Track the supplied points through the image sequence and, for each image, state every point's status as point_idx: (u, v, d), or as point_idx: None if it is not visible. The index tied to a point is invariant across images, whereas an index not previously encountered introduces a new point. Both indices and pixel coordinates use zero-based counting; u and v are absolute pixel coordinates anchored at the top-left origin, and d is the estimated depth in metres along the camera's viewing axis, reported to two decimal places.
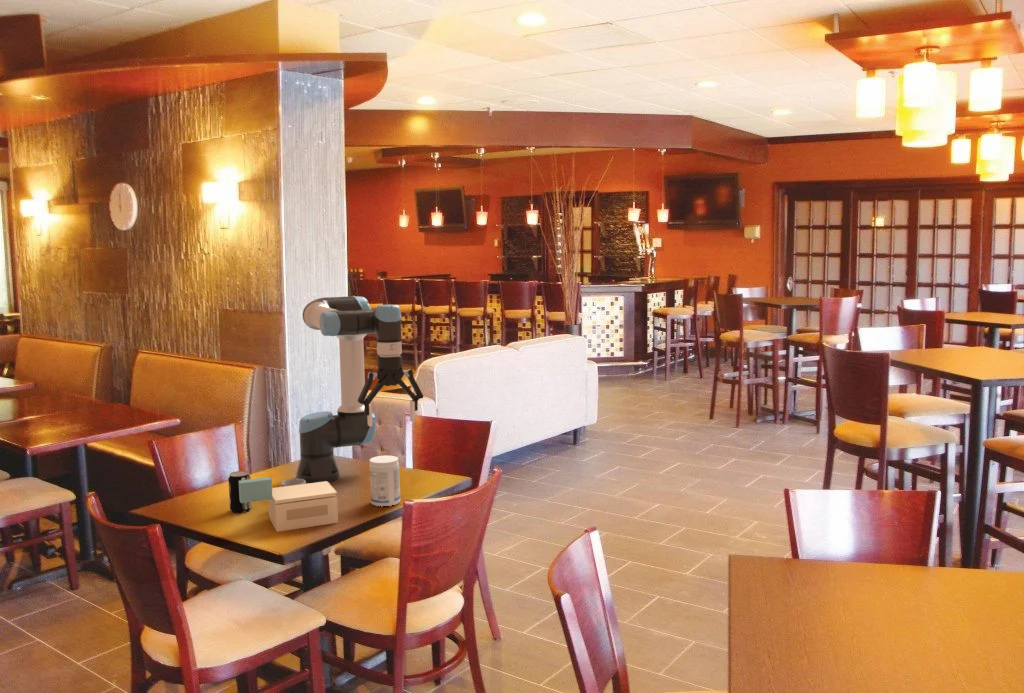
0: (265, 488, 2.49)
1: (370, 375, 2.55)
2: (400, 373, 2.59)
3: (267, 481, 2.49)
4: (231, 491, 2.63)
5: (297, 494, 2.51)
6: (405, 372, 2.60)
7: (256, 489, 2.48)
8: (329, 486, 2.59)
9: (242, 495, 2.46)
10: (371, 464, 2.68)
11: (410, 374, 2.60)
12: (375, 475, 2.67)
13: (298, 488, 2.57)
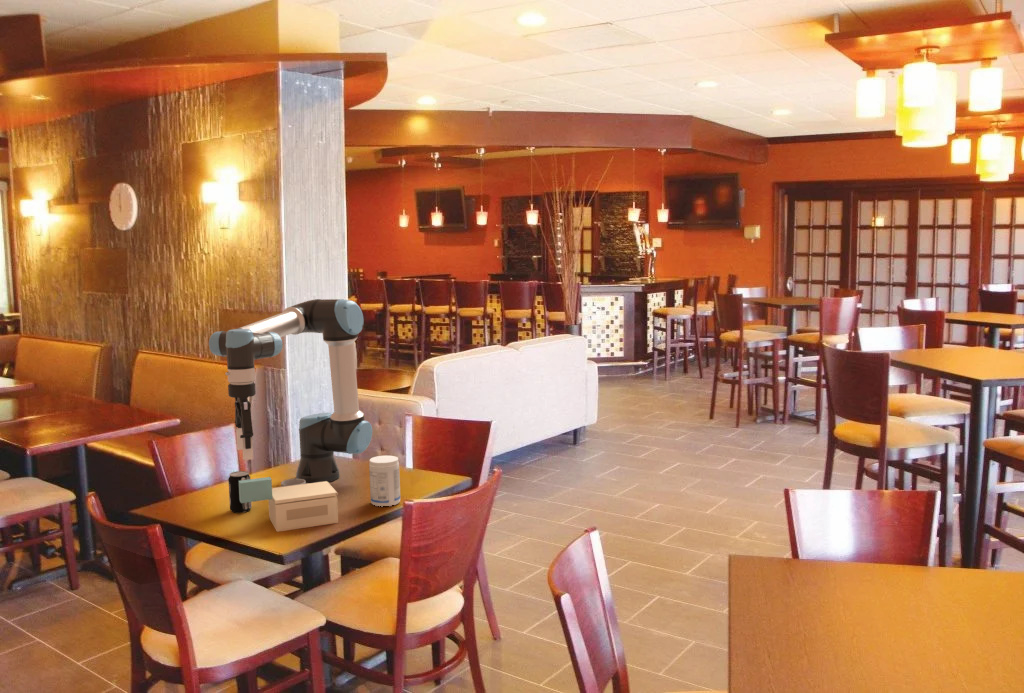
0: (265, 488, 2.49)
1: (235, 398, 2.50)
2: (239, 403, 2.42)
3: (267, 481, 2.49)
4: (231, 491, 2.63)
5: (297, 494, 2.51)
6: None
7: (256, 489, 2.48)
8: (329, 486, 2.59)
9: (242, 495, 2.46)
10: (371, 464, 2.68)
11: (241, 407, 2.39)
12: (375, 475, 2.67)
13: (298, 488, 2.57)
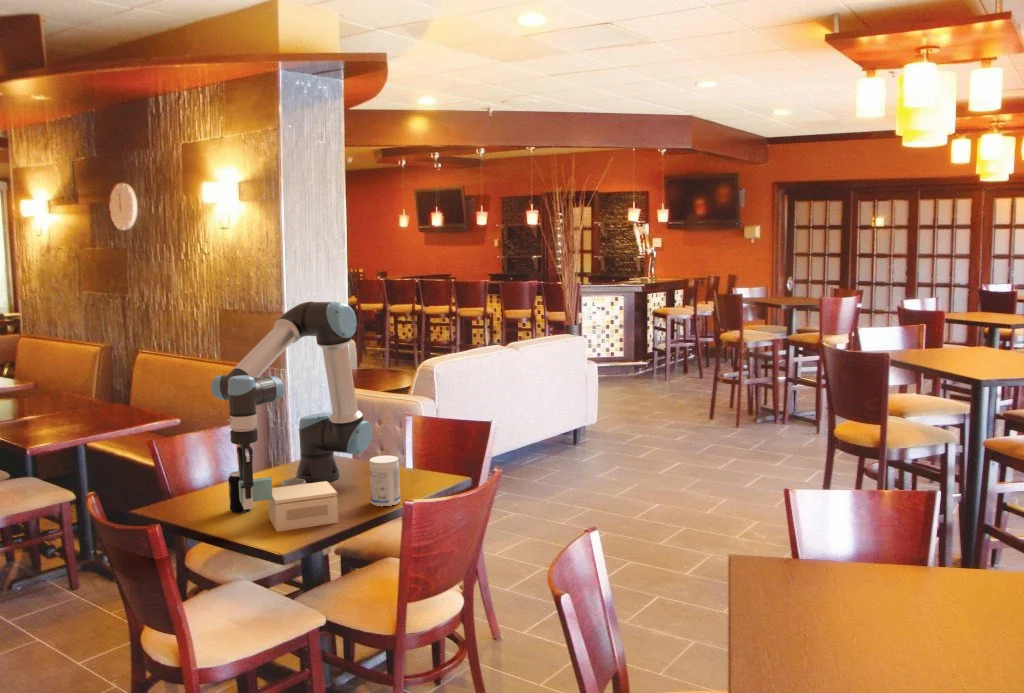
0: (265, 488, 2.49)
1: None
2: (242, 450, 2.43)
3: (267, 481, 2.49)
4: (231, 491, 2.63)
5: (297, 494, 2.51)
6: (245, 454, 2.42)
7: (256, 489, 2.48)
8: (329, 486, 2.59)
9: (242, 495, 2.46)
10: (371, 464, 2.68)
11: (243, 459, 2.41)
12: (375, 475, 2.67)
13: (298, 488, 2.57)
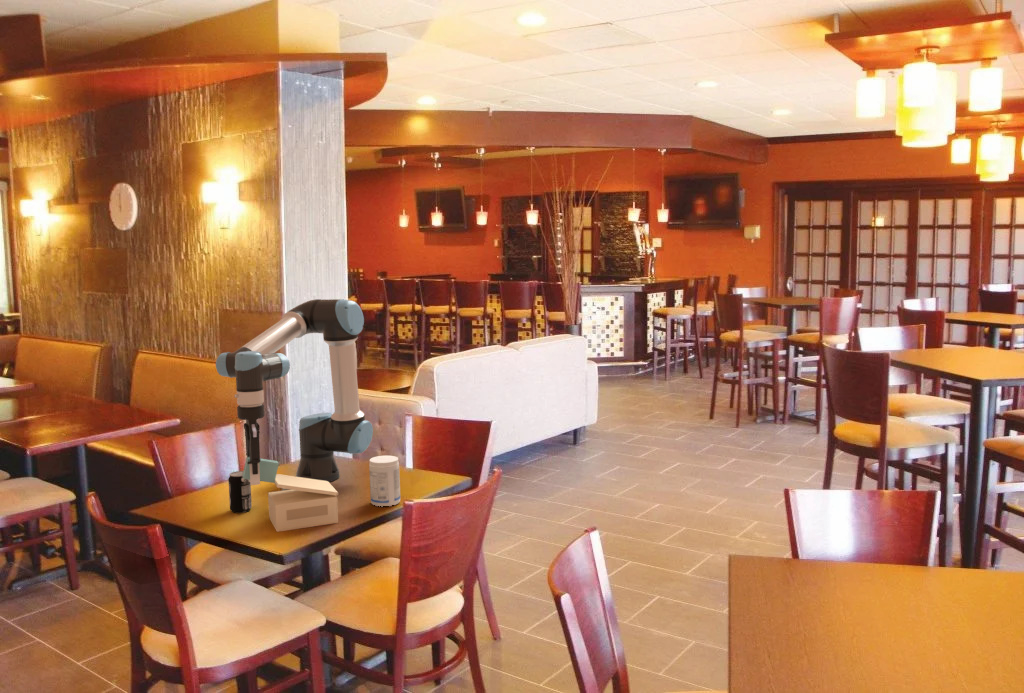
0: (270, 470, 2.49)
1: None
2: (248, 425, 2.43)
3: (274, 464, 2.49)
4: (231, 491, 2.63)
5: (299, 484, 2.51)
6: (252, 429, 2.42)
7: (262, 469, 2.48)
8: (330, 486, 2.59)
9: (247, 471, 2.46)
10: (371, 464, 2.68)
11: (250, 434, 2.41)
12: (375, 475, 2.67)
13: (300, 480, 2.57)
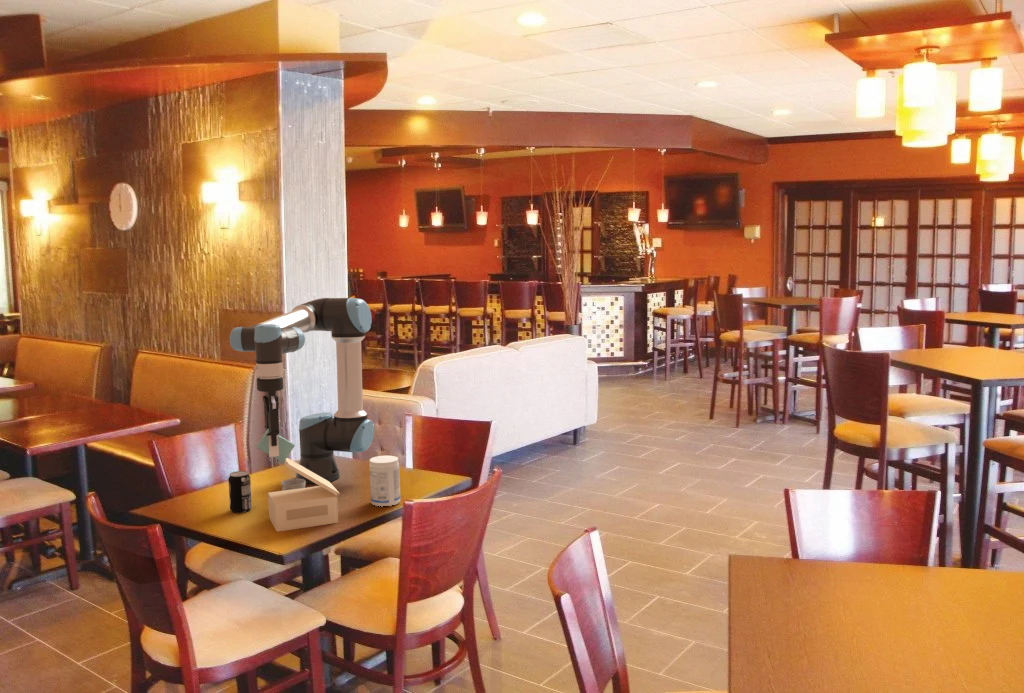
0: (284, 449, 2.50)
1: None
2: (268, 397, 2.45)
3: (290, 444, 2.51)
4: (231, 491, 2.63)
5: (306, 472, 2.51)
6: (271, 401, 2.44)
7: None
8: (332, 485, 2.59)
9: (263, 442, 2.47)
10: (371, 464, 2.68)
11: (269, 406, 2.43)
12: (375, 475, 2.67)
13: (306, 470, 2.58)
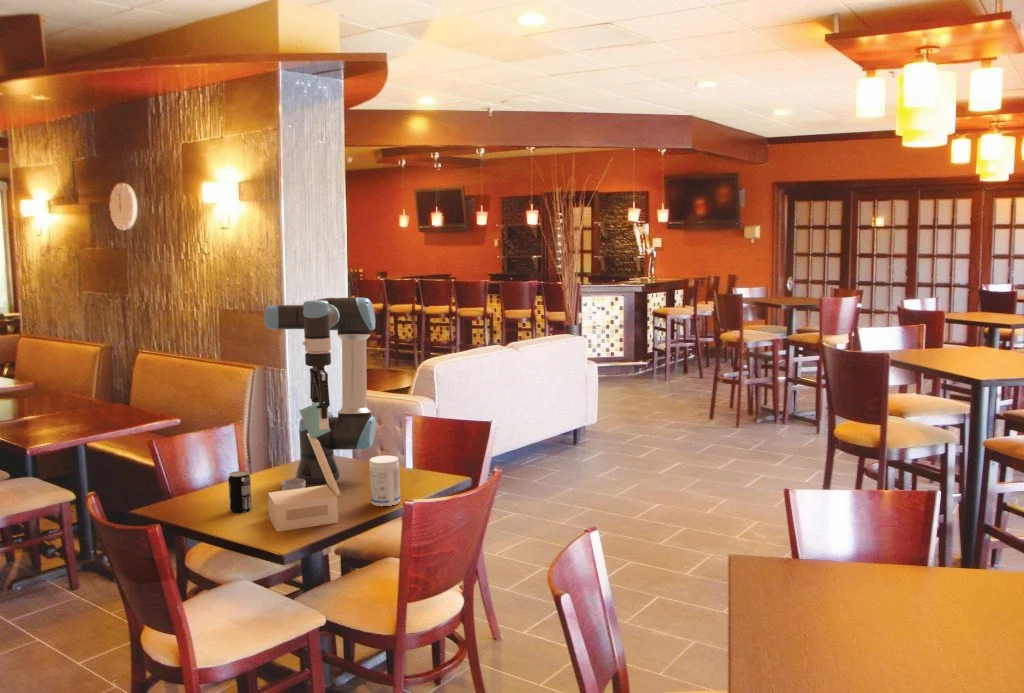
0: None
1: (310, 370, 2.59)
2: (317, 372, 2.50)
3: None
4: (231, 491, 2.63)
5: None
6: (320, 374, 2.49)
7: (317, 421, 2.53)
8: None
9: (309, 410, 2.52)
10: (371, 464, 2.68)
11: (318, 378, 2.48)
12: (375, 475, 2.67)
13: None
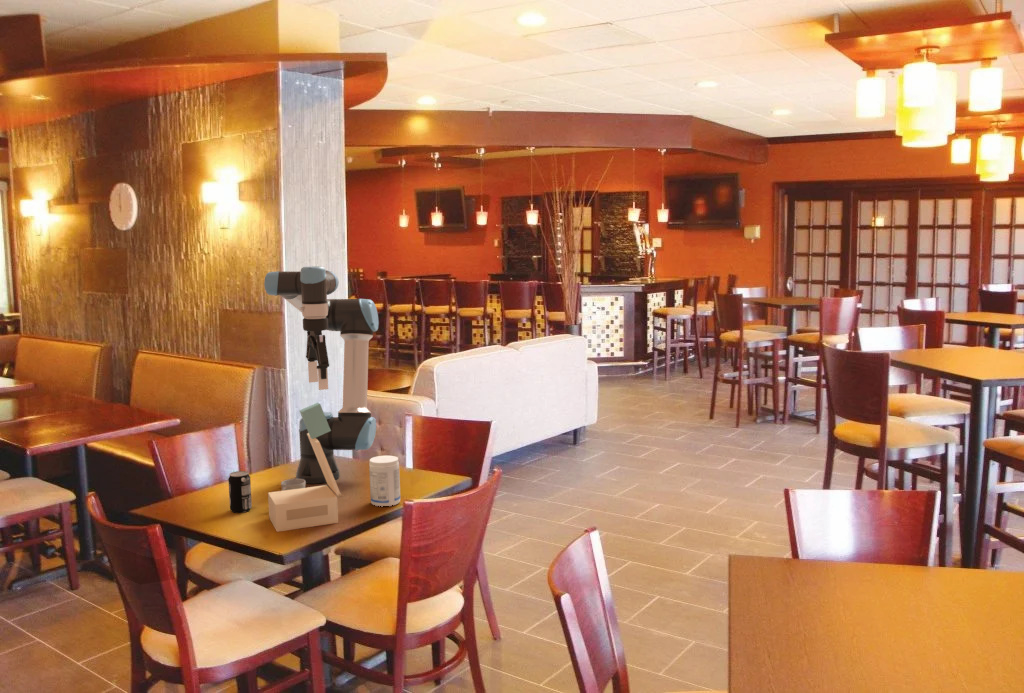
0: (320, 428, 2.54)
1: (307, 333, 2.63)
2: (314, 337, 2.55)
3: (328, 428, 2.55)
4: (231, 491, 2.63)
5: None
6: None
7: (317, 421, 2.53)
8: None
9: (309, 410, 2.52)
10: (371, 464, 2.68)
11: (316, 340, 2.52)
12: (375, 475, 2.67)
13: None
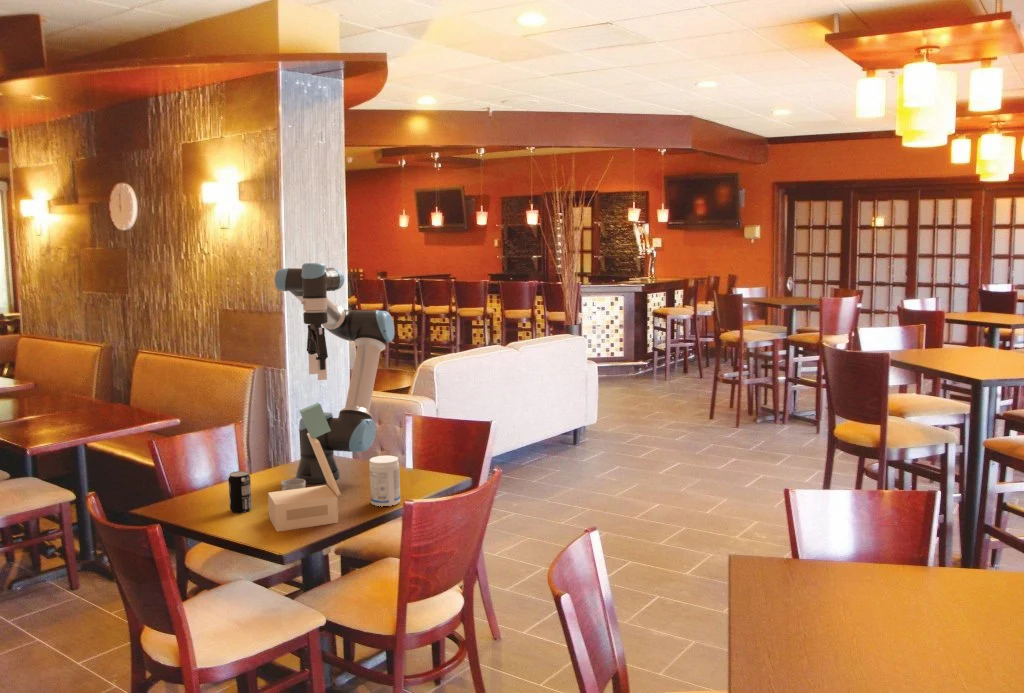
0: (320, 428, 2.54)
1: (308, 327, 2.76)
2: (314, 329, 2.67)
3: (328, 428, 2.55)
4: (231, 491, 2.63)
5: None
6: None
7: (317, 421, 2.53)
8: None
9: (309, 410, 2.52)
10: (371, 464, 2.68)
11: (316, 332, 2.65)
12: (375, 475, 2.67)
13: None
